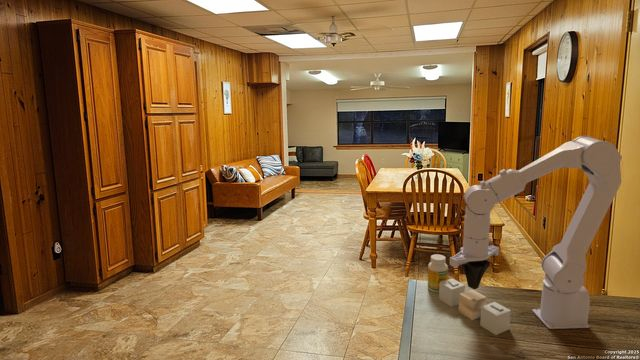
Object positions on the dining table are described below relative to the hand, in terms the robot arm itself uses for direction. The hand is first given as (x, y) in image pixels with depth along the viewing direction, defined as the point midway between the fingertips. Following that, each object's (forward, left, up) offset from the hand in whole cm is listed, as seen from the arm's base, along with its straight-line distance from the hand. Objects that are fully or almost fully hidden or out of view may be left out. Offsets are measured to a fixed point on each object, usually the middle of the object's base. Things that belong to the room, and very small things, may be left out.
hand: (472, 287), depth 101 cm
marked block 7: (+3, -6, -7) cm, 10 cm away
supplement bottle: (+5, -13, -7) cm, 16 cm away
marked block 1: (-3, +6, -7) cm, 10 cm away
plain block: (0, 0, -7) cm, 7 cm away
